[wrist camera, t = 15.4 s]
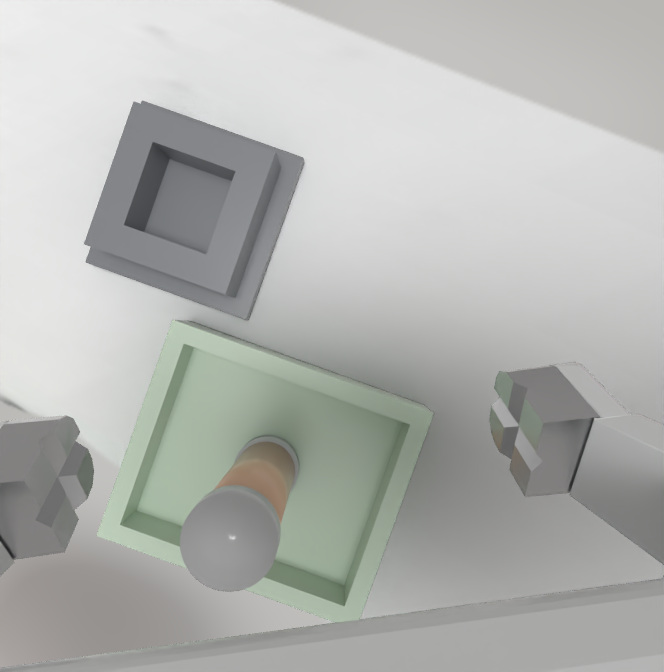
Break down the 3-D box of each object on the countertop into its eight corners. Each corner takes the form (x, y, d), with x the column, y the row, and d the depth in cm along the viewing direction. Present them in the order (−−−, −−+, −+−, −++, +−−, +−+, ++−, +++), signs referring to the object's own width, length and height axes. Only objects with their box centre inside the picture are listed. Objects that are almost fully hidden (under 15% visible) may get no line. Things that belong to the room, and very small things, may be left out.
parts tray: (424, 404, 34) (434, 413, 30) (354, 599, 34) (355, 629, 31) (189, 320, 34) (172, 319, 31) (121, 514, 34) (96, 535, 31)
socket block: (304, 162, 34) (299, 140, 30) (248, 320, 34) (236, 318, 30) (147, 107, 34) (122, 77, 30) (92, 264, 34) (60, 255, 30)
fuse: (308, 447, 33) (291, 513, 21) (286, 505, 33) (257, 605, 21) (249, 425, 33) (199, 480, 21) (228, 484, 33) (166, 571, 21)
